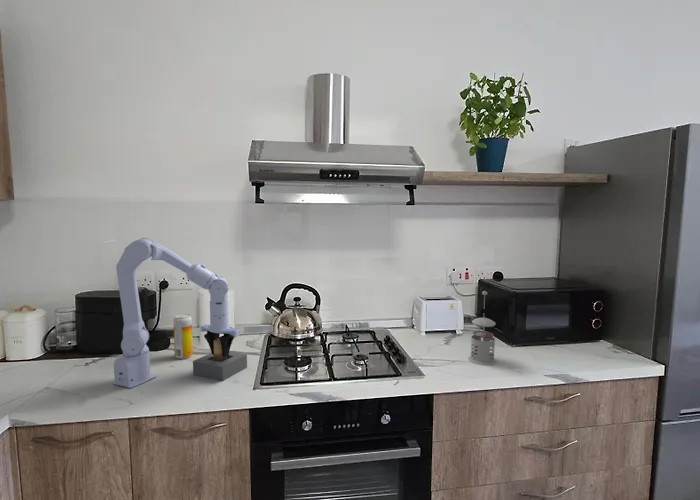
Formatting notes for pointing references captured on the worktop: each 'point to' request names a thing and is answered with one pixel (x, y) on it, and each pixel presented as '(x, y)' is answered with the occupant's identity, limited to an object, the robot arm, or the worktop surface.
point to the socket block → (219, 366)
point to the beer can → (183, 336)
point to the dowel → (218, 351)
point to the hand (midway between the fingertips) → (220, 354)
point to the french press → (482, 342)
